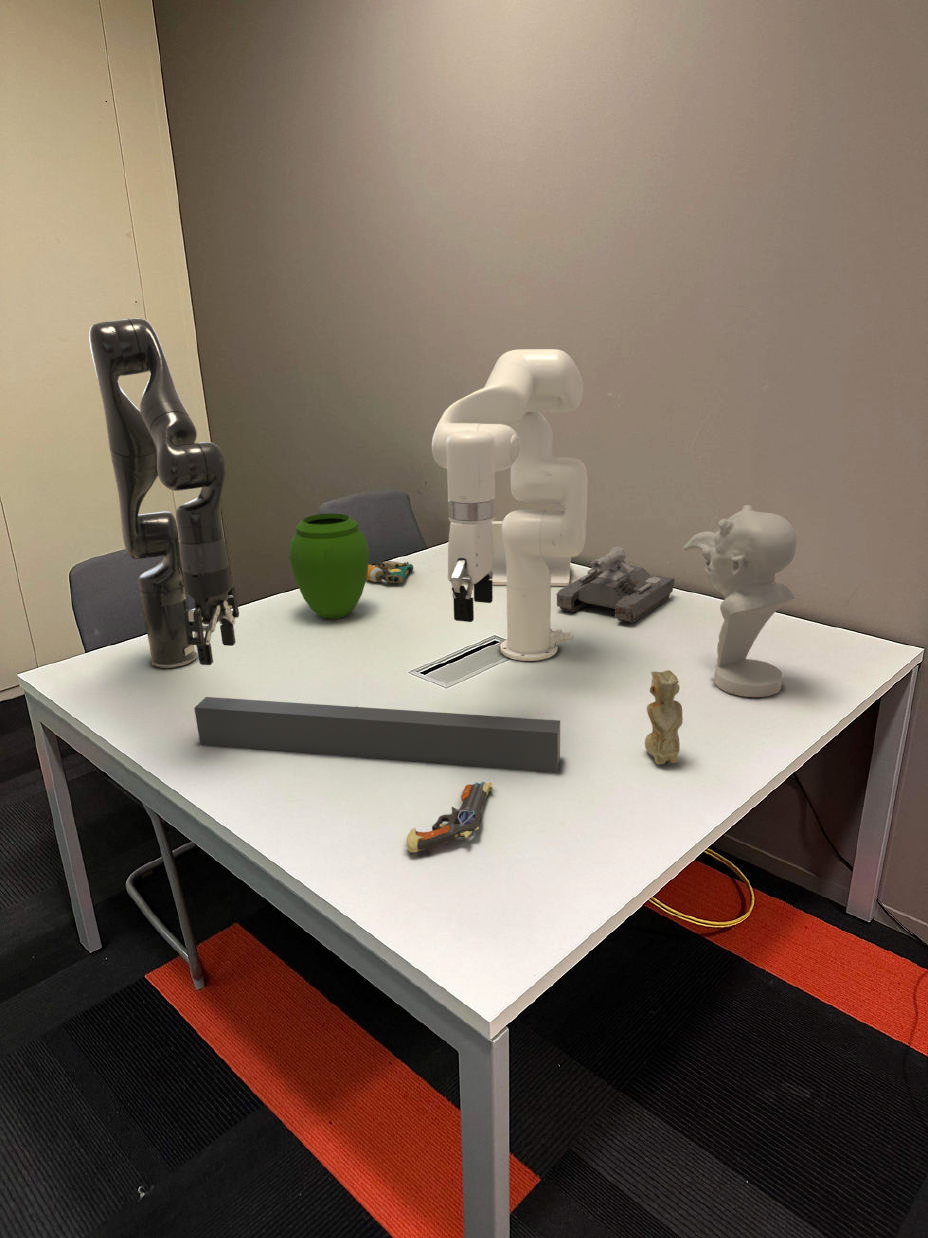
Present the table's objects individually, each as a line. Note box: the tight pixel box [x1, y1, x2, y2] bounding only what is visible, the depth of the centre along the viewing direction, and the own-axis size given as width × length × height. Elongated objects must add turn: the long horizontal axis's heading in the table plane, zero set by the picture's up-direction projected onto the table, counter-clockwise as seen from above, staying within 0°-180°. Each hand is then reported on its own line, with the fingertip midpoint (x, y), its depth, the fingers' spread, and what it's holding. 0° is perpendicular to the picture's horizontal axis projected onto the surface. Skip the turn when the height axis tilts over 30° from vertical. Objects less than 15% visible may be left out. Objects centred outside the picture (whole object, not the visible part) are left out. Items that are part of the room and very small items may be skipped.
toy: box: [556, 546, 676, 624], centre depth 212 cm, size 25×20×15 cm
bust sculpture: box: [682, 504, 797, 698], centre depth 167 cm, size 16×24×35 cm, turn 28°
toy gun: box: [406, 781, 494, 853], centre depth 127 cm, size 3×19×10 cm
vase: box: [288, 512, 370, 620], centre depth 209 cm, size 20×20×24 cm
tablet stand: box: [489, 520, 572, 587], centre depth 236 cm, size 18×25×17 cm
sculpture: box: [644, 669, 684, 765], centre depth 141 cm, size 6×7×15 cm
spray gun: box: [366, 560, 414, 584], centre depth 240 cm, size 4×17×15 cm
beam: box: [194, 696, 561, 773], centre depth 147 cm, size 64×4×7 cm, turn 79°
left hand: (218, 654), depth 148 cm, fingers open, 8 cm apart
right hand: (473, 611), depth 142 cm, fingers open, 9 cm apart
